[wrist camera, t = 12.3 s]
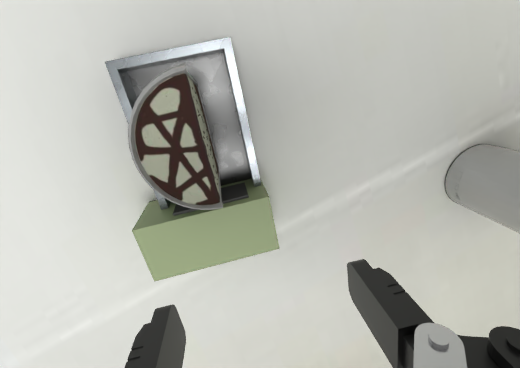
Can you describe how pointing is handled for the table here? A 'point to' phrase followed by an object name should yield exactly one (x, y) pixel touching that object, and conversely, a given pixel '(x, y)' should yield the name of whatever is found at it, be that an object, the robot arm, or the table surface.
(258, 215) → the pale green rectangular block
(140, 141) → the food container
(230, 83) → the gray open tray
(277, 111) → the table surface
